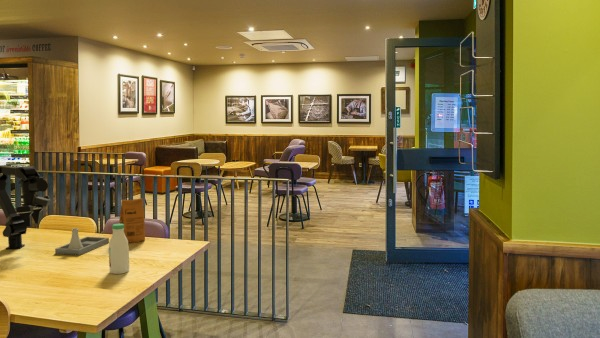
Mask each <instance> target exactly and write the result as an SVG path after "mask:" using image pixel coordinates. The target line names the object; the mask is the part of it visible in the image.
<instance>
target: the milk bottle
mask: <svg viewBox="0 0 600 338" xmlns="http://www.w3.org/2000/svg"><path fill="white" fill-rule="evenodd" d="M111 229H112V230H111V231H112V235H111V238H109V243H108V259H109V260H108V262H109V263H108V264H109V273H110V274H114V275H120V274H121V275H122V274H125V273H128V272H129V271H130V247H129V243H128V240H127V238H126V236H125V234H124V224H119V223H113V224H112V226H111Z"/></svg>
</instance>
